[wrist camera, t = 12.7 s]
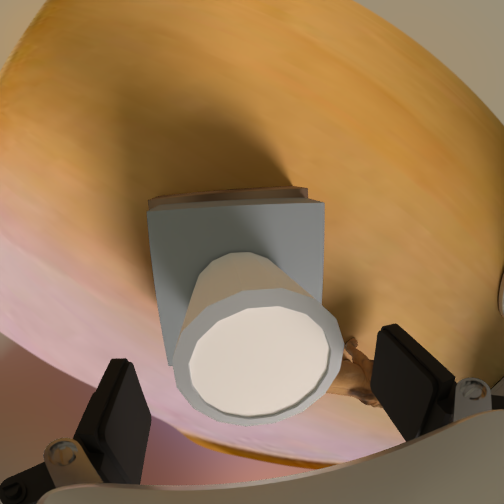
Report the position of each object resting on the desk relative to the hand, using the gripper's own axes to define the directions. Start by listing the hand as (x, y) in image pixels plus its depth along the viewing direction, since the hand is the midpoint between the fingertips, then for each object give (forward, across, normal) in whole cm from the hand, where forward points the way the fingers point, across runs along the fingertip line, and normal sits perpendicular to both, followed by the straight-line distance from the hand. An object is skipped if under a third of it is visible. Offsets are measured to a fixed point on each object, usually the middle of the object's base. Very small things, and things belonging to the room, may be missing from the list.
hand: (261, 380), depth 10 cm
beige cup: (+8, 0, 0) cm, 8 cm away
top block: (+12, 0, 0) cm, 12 cm away
